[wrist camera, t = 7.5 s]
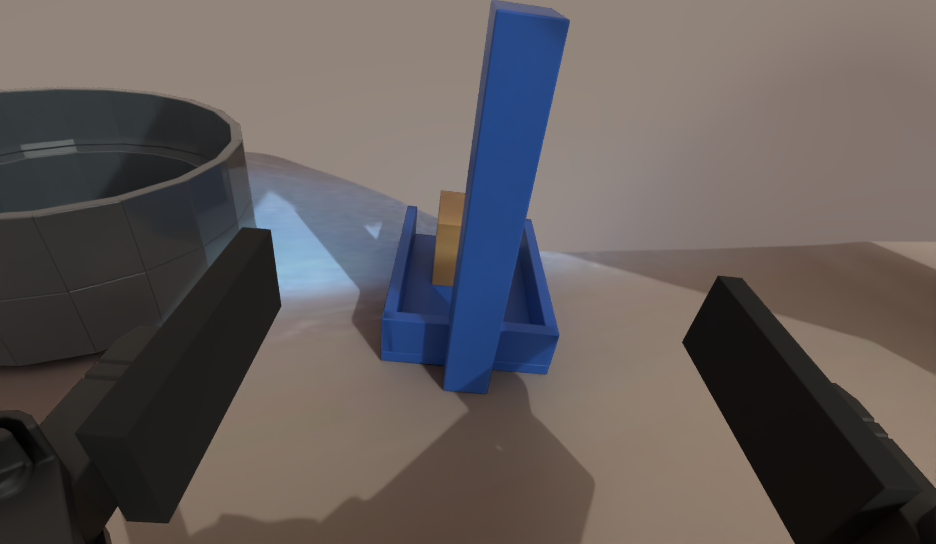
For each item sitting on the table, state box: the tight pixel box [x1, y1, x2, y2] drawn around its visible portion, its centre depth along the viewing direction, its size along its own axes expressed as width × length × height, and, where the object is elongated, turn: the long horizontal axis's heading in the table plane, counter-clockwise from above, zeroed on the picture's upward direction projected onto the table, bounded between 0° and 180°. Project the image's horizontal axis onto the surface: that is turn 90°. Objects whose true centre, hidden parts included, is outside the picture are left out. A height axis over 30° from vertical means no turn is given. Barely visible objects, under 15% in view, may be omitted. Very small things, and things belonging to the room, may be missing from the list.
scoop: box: [381, 0, 570, 394], centre depth 21 cm, size 12×8×15 cm, turn 1°
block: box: [432, 191, 465, 287], centre depth 26 cm, size 4×4×4 cm
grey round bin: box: [0, 87, 256, 366], centre depth 23 cm, size 16×16×7 cm
